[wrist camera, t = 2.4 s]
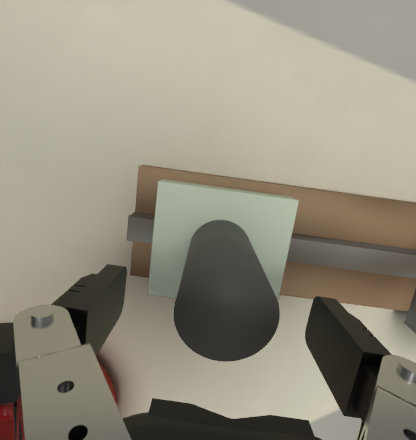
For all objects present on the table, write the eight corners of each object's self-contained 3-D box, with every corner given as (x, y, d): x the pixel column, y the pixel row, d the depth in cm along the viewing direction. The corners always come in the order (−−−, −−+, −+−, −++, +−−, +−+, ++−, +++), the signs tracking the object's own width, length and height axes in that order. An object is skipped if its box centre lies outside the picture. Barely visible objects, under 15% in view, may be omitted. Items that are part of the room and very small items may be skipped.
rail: (145, 142, 20) (59, 121, 8) (525, 195, 20) (918, 241, 9) (134, 278, 22) (54, 404, 11) (475, 323, 22) (739, 487, 11)
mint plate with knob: (166, 177, 18) (115, 199, 9) (284, 193, 18) (368, 232, 9) (156, 274, 20) (104, 386, 10) (266, 288, 20) (319, 413, 10)
